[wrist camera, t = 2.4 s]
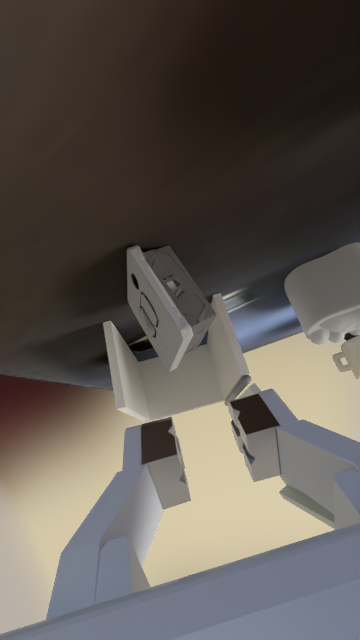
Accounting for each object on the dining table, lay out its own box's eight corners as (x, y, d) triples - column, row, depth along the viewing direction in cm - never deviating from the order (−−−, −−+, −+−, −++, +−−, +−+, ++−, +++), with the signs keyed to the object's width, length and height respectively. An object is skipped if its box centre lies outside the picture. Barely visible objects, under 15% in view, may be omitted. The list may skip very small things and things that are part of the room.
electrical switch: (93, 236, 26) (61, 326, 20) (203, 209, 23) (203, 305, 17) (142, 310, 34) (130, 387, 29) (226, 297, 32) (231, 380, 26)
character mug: (312, 321, 57) (343, 384, 52) (311, 311, 51) (346, 380, 46) (369, 300, 54) (409, 364, 49) (377, 285, 48) (422, 357, 43)
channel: (220, 292, 35) (252, 381, 31) (211, 344, 54) (230, 404, 49) (102, 322, 34) (117, 418, 30) (134, 364, 53) (146, 428, 48)
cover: (237, 395, 30) (254, 382, 31) (221, 413, 48) (232, 405, 49) (347, 536, 25) (366, 518, 26) (283, 498, 43) (295, 487, 44)
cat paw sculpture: (371, 233, 32) (415, 299, 28) (356, 279, 43) (386, 330, 40) (280, 273, 35) (311, 336, 31) (288, 306, 46) (311, 356, 43)
